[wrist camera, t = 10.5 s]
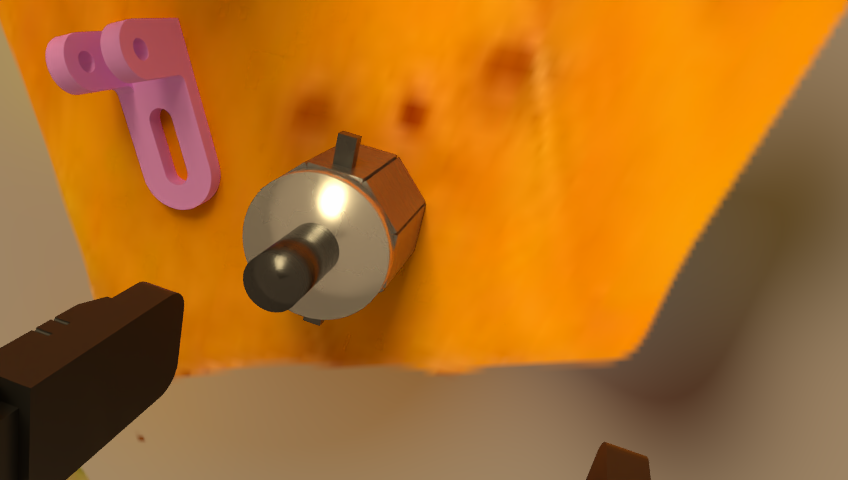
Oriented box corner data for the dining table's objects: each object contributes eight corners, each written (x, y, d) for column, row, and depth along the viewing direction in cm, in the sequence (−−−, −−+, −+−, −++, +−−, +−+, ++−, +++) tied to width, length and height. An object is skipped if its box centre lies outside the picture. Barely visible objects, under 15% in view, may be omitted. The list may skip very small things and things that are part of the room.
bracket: (112, 34, 48) (37, 37, 42) (179, 17, 46) (111, 18, 40) (166, 208, 51) (104, 237, 45) (230, 199, 50) (175, 227, 43)
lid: (261, 150, 40) (199, 176, 34) (408, 191, 39) (371, 226, 32) (244, 287, 43) (184, 333, 37) (378, 329, 42) (340, 385, 36)
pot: (316, 102, 46) (269, 117, 39) (442, 139, 44) (415, 161, 38) (286, 270, 50) (241, 308, 44) (400, 307, 49) (370, 352, 43)
